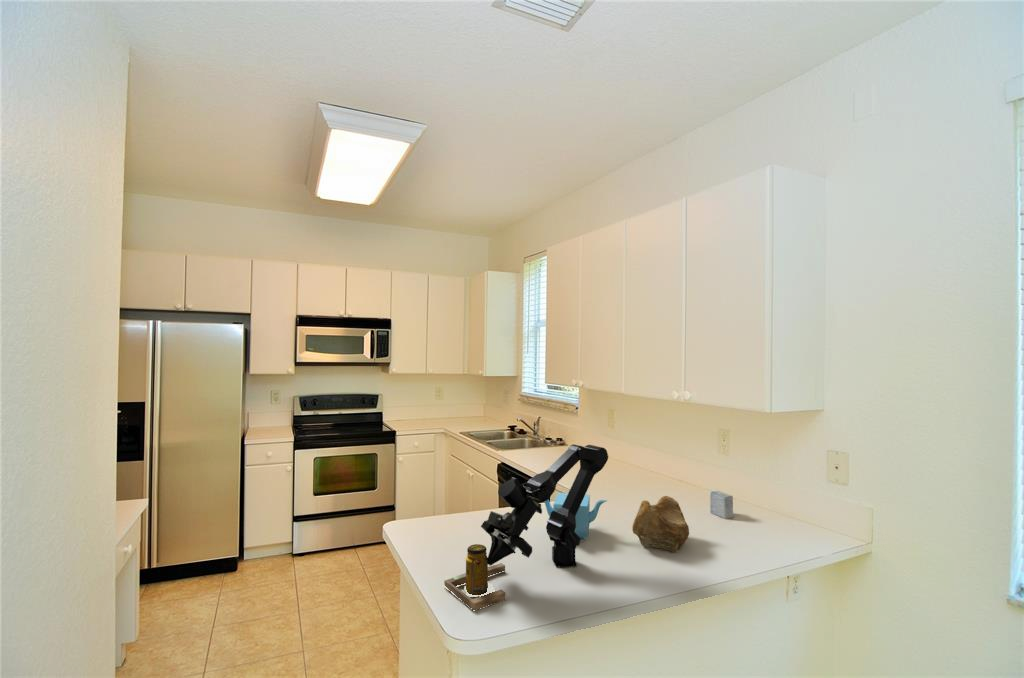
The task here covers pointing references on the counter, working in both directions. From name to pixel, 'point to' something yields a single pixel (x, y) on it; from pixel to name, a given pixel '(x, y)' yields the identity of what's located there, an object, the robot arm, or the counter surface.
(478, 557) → the condiment
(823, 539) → the counter surface
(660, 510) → the rough brown rock
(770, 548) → the counter surface
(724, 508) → the medicine box
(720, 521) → the counter surface
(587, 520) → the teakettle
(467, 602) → the rail bay
